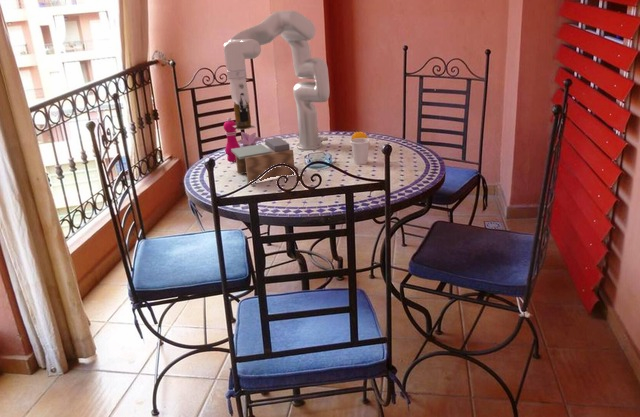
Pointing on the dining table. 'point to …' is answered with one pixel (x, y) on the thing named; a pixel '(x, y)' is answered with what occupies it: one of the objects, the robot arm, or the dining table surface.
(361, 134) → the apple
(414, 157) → the dining table surface
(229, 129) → the pepper mill
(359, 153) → the dixie cup
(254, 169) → the stand
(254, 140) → the lily
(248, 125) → the condiment
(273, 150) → the trapdoor
